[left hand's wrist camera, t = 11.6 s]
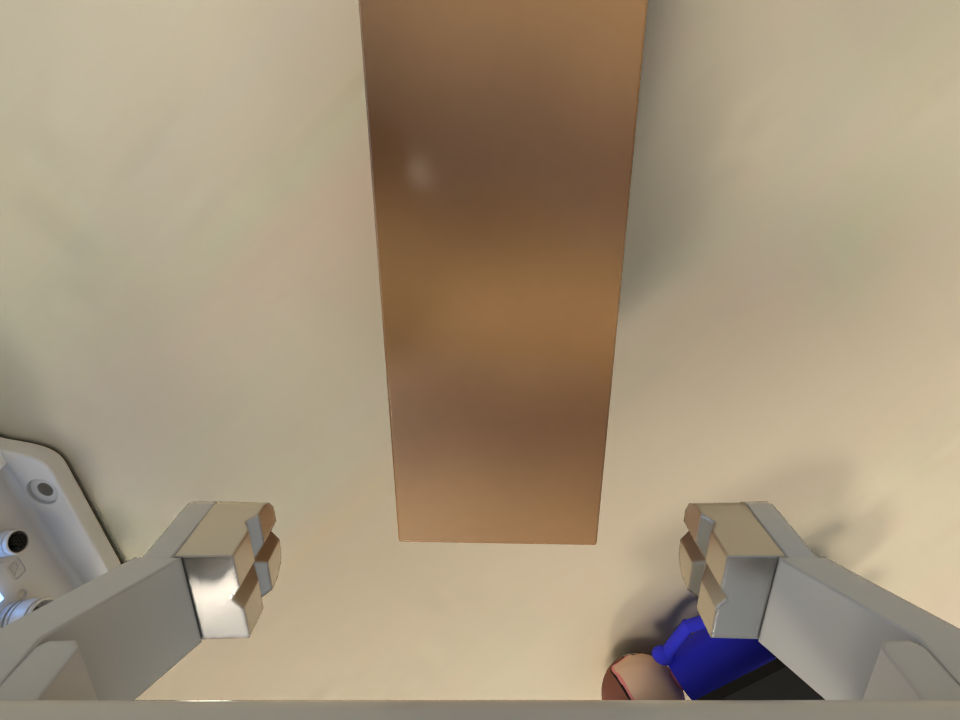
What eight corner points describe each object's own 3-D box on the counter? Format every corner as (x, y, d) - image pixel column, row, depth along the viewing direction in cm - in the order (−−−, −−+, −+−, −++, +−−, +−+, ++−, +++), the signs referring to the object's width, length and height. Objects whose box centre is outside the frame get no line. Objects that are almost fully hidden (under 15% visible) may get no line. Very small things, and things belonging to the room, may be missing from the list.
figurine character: (769, 523, 33) (570, 655, 35) (861, 619, 25) (602, 777, 28) (819, 591, 34) (627, 712, 37) (918, 698, 27) (671, 840, 29)
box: (554, 374, 28) (596, 545, 16) (440, 373, 28) (398, 542, 16) (581, -155, 20) (705, -596, 8) (422, -152, 20) (314, -579, 8)
